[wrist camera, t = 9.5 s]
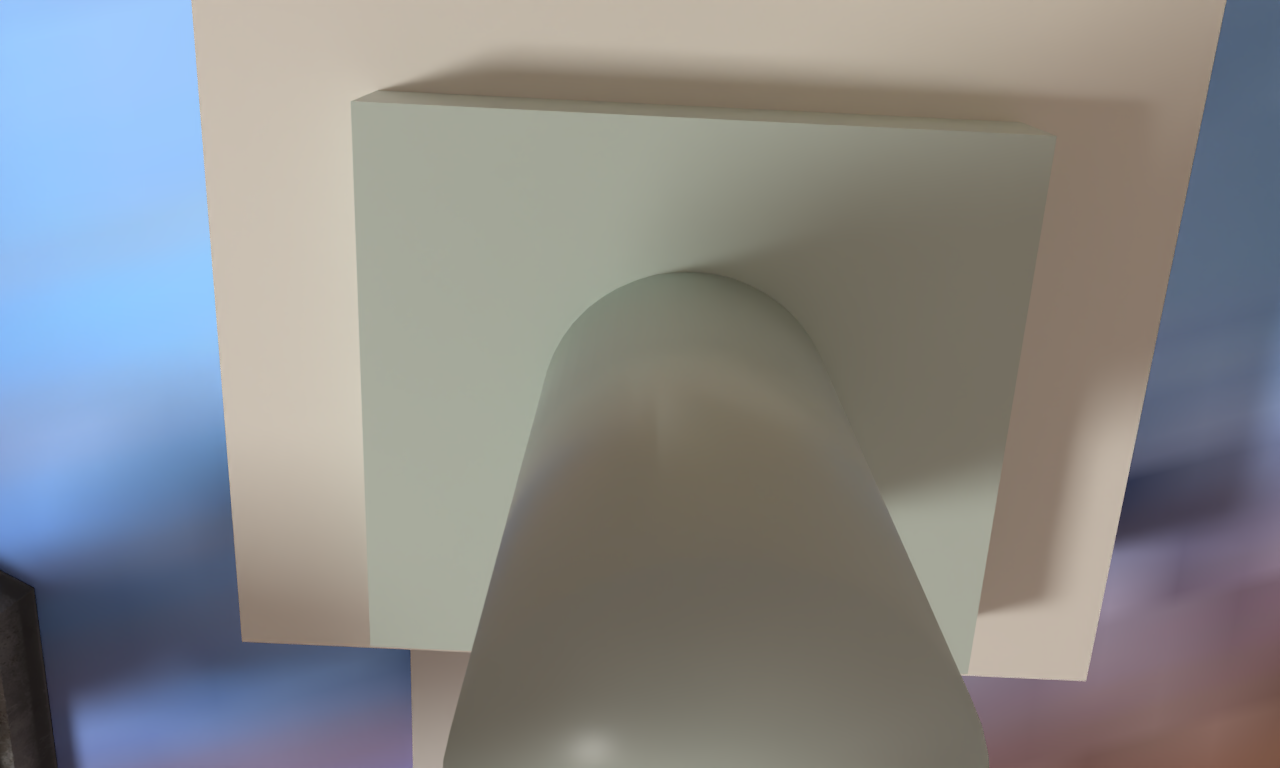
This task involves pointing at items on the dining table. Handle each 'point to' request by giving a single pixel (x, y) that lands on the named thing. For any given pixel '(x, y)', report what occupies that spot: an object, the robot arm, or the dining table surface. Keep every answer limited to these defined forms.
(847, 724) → the cover
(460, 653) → the pad
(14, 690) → the figurine
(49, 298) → the dining table surface
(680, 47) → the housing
